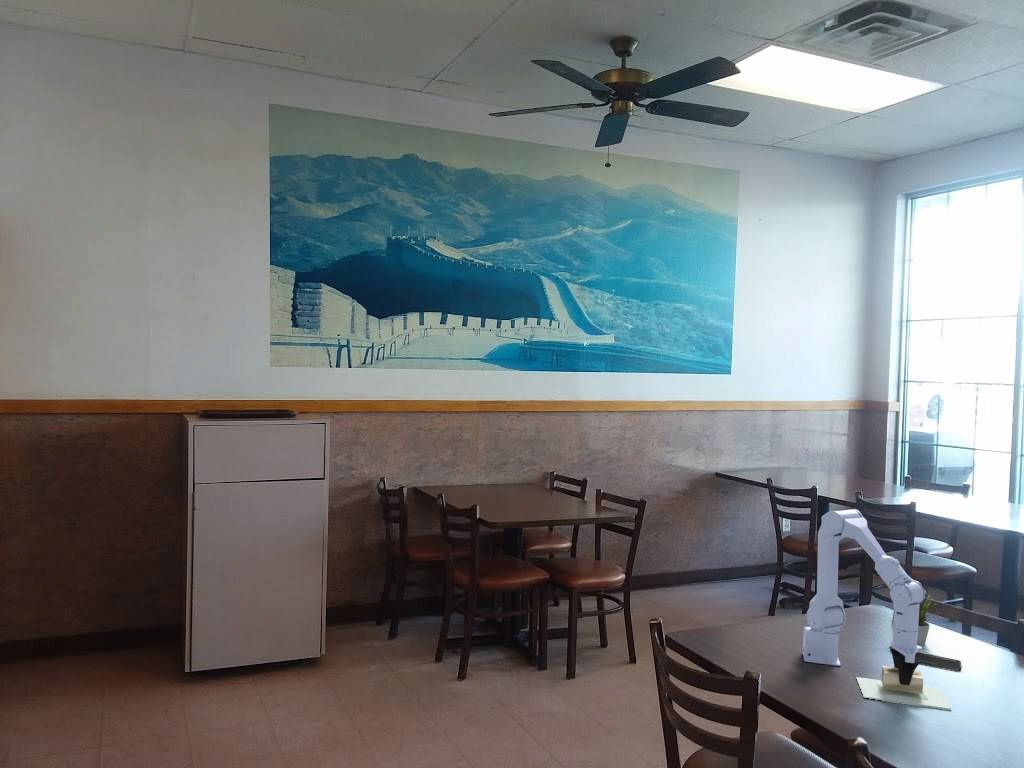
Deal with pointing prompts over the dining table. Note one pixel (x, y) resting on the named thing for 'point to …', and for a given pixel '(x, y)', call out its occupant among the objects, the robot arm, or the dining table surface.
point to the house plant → (923, 622)
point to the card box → (892, 681)
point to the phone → (938, 661)
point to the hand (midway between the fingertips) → (902, 680)
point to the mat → (902, 695)
